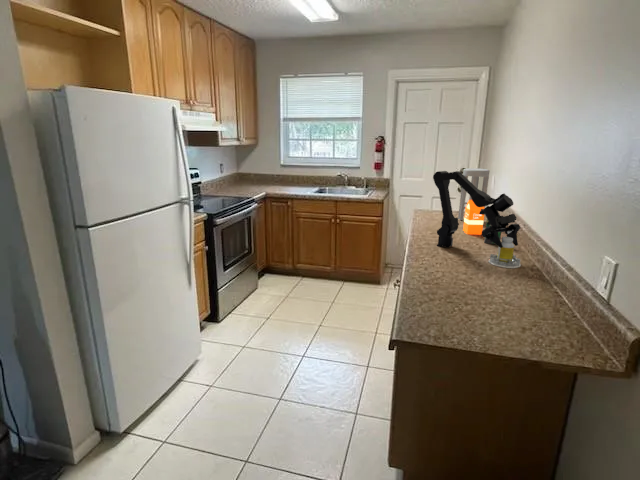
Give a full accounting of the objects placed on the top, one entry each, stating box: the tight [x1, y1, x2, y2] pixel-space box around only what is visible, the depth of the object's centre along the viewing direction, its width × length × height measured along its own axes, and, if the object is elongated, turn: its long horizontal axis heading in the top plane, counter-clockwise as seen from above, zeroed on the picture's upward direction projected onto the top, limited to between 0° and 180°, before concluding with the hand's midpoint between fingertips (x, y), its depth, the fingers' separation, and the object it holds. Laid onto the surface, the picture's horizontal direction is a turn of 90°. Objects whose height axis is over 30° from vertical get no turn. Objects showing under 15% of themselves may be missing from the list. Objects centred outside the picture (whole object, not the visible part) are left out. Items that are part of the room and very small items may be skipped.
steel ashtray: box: [488, 253, 522, 269], centre depth 179 cm, size 14×14×3 cm
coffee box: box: [484, 219, 502, 245], centre depth 210 cm, size 8×3×13 cm, turn 66°
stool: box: [457, 167, 490, 221], centre depth 259 cm, size 16×16×35 cm
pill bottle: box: [496, 236, 515, 262], centre depth 178 cm, size 6×6×12 cm
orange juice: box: [462, 199, 485, 236], centre depth 231 cm, size 8×9×20 cm
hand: (509, 246), depth 176 cm, fingers open, 9 cm apart
